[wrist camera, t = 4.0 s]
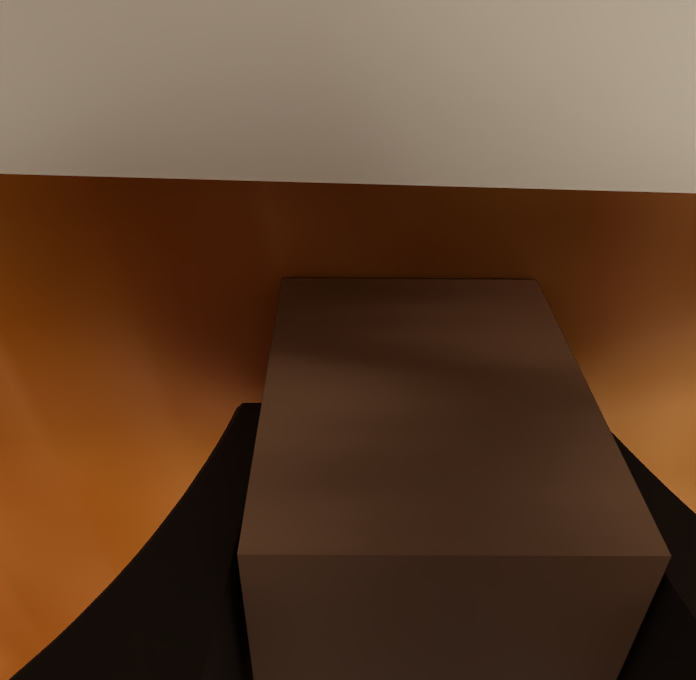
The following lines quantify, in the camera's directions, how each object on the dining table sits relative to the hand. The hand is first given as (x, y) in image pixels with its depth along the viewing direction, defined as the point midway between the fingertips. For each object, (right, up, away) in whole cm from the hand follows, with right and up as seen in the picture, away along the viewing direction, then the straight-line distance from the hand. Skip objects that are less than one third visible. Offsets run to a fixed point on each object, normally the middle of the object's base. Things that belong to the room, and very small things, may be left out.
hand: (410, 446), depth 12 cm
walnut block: (0, +1, +2) cm, 2 cm away
